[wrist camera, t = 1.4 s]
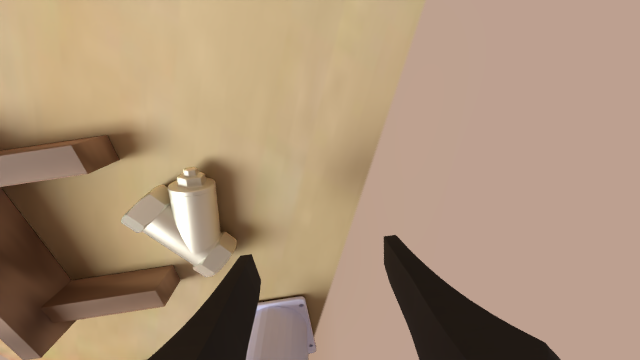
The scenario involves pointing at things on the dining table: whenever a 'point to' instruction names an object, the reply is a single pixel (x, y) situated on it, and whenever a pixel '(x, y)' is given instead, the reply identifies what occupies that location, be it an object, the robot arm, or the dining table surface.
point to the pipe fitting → (185, 221)
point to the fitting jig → (44, 271)
